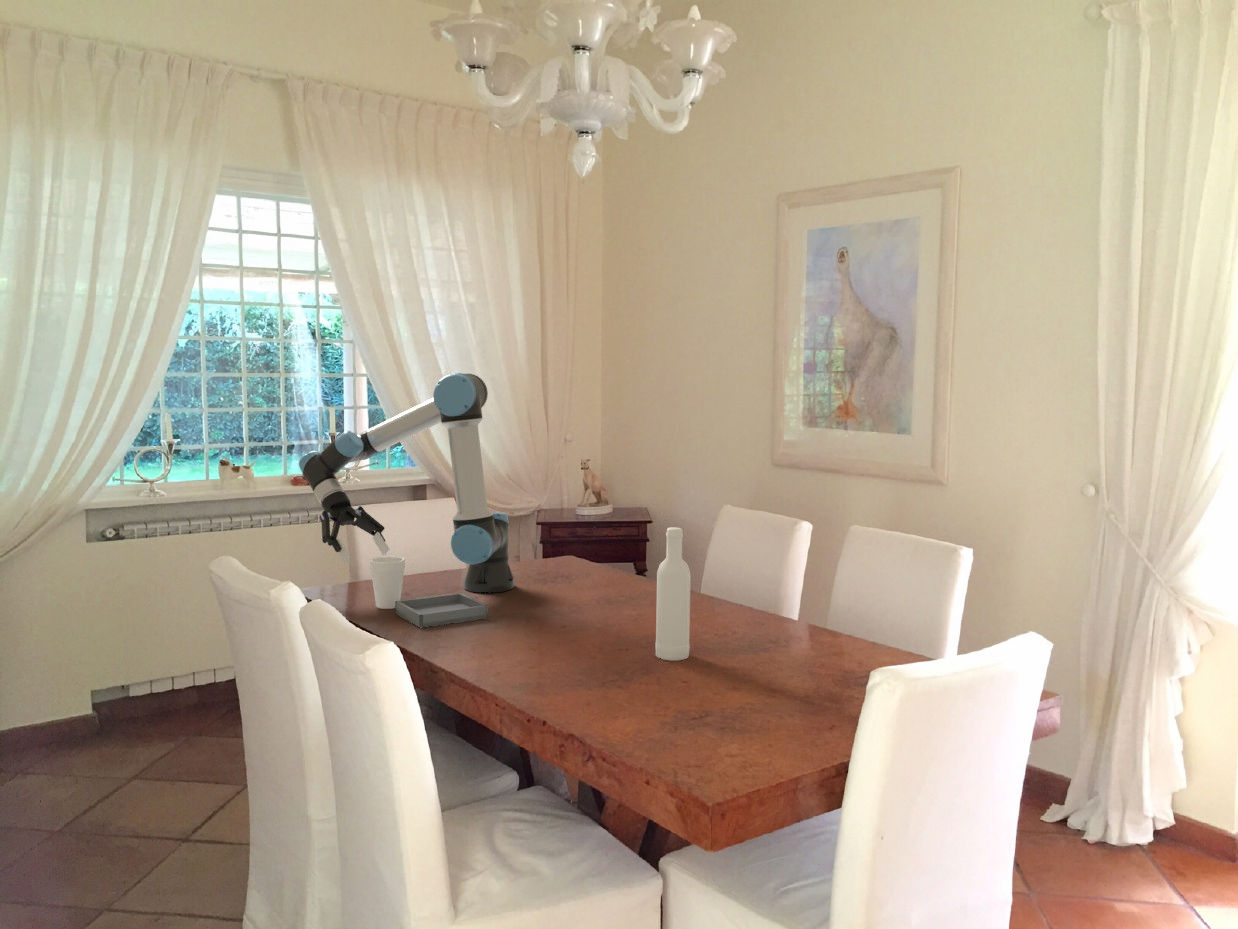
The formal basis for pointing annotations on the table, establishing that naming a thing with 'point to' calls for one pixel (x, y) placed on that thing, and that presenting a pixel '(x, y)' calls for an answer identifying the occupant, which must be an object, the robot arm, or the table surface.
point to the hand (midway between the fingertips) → (367, 556)
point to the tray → (441, 610)
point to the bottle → (673, 601)
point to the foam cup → (387, 580)
